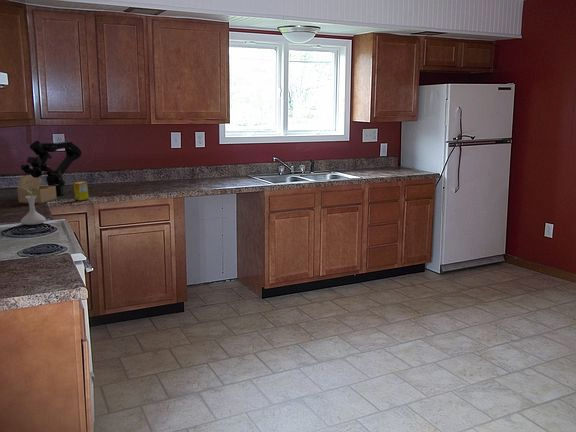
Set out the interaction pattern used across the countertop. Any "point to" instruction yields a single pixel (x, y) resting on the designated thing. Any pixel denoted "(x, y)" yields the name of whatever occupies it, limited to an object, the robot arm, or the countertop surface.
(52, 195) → the carton
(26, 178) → the flower in vase
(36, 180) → the carton flap
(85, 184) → the supplement box
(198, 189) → the countertop surface
